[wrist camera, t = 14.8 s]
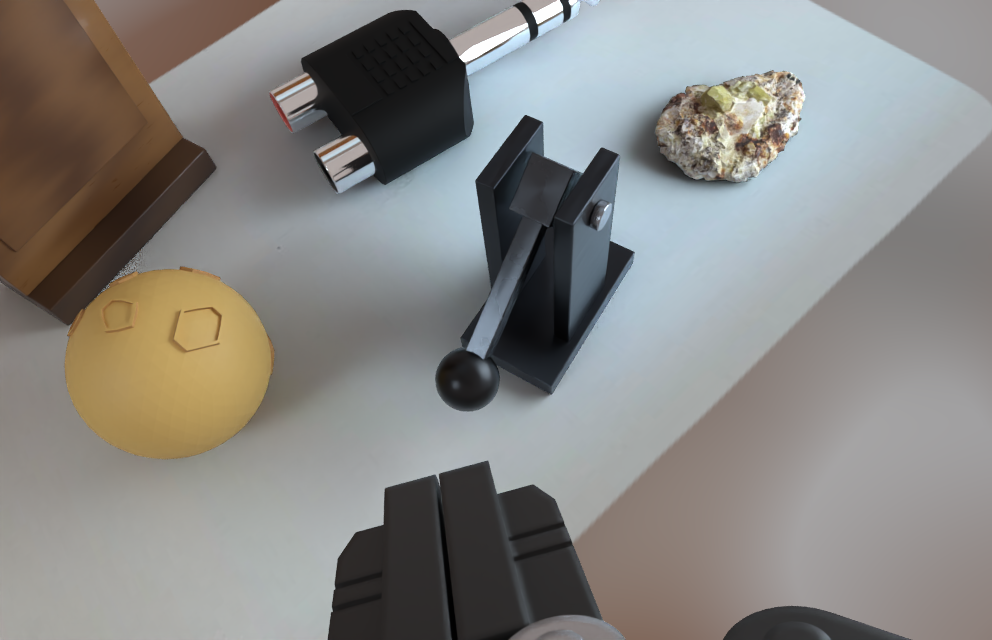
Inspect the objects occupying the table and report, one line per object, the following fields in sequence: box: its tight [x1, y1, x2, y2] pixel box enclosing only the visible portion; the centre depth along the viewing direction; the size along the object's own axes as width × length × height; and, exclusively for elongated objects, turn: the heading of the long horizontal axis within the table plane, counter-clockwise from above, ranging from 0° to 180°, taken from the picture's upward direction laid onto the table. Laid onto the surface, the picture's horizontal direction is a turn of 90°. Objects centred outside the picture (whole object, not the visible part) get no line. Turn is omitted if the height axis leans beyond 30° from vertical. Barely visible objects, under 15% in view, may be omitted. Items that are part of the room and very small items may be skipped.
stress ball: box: [65, 266, 274, 459], centre depth 39 cm, size 10×10×10 cm
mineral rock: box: [655, 70, 805, 182], centre depth 49 cm, size 11×4×8 cm
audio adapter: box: [269, 0, 600, 194], centre depth 51 cm, size 11×5×25 cm
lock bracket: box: [461, 115, 635, 394], centre depth 39 cm, size 10×6×13 cm, turn 148°
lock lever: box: [435, 152, 583, 412], centre depth 36 cm, size 13×3×3 cm
